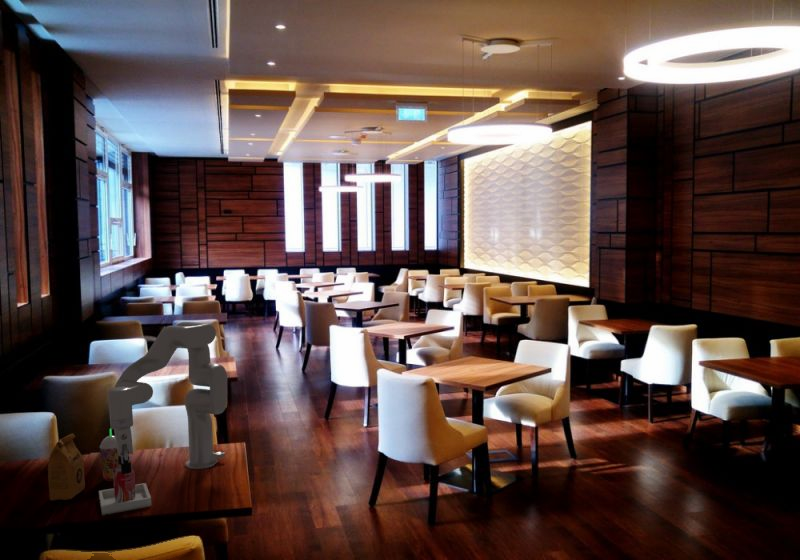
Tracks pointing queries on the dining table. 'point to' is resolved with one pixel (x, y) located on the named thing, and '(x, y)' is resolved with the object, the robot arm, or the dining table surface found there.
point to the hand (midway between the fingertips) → (125, 468)
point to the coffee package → (65, 470)
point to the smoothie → (109, 457)
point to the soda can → (124, 485)
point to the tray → (113, 506)
